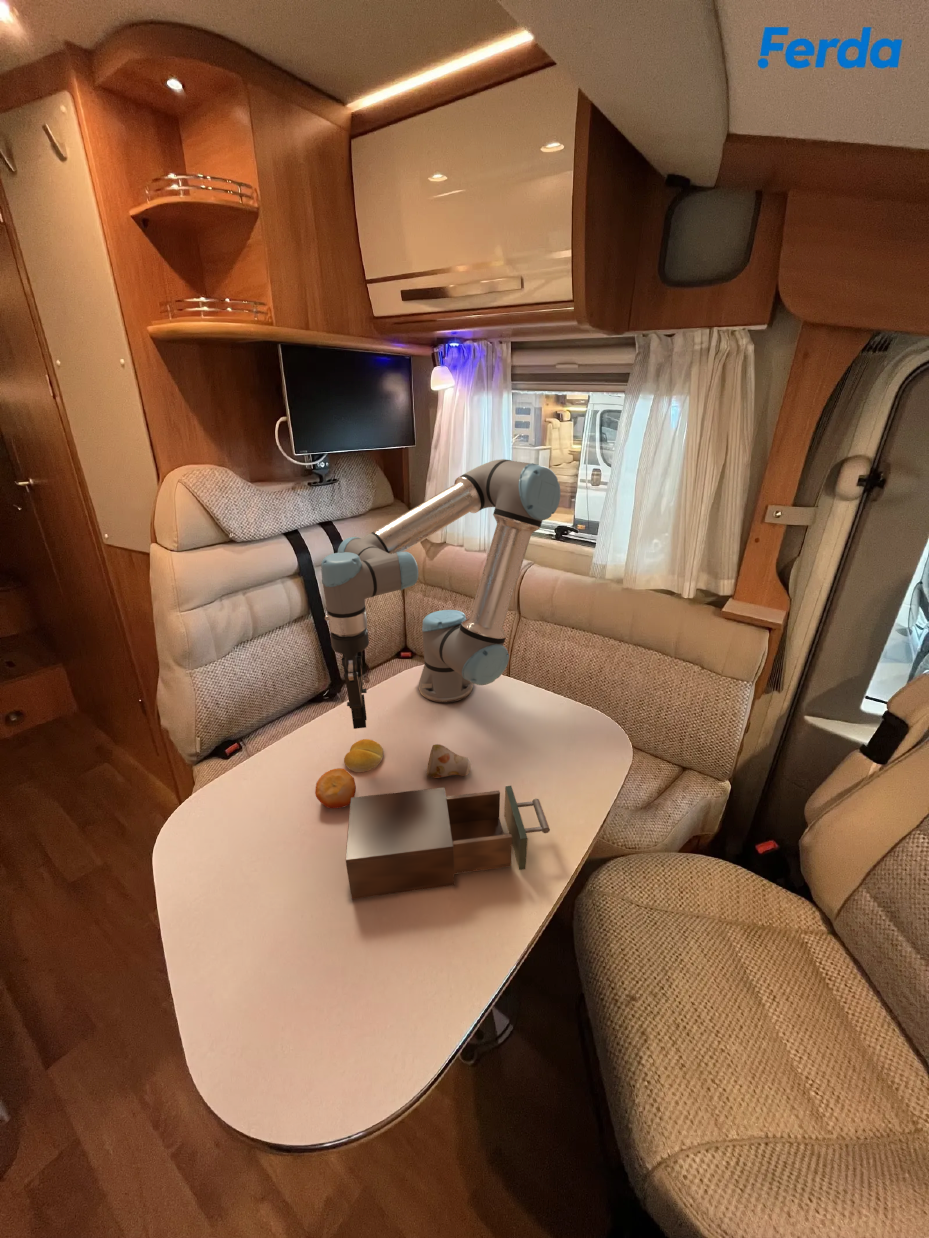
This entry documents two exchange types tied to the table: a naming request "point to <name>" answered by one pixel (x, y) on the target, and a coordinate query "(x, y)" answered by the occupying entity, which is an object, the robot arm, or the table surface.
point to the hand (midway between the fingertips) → (360, 723)
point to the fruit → (335, 788)
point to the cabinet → (399, 843)
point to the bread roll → (363, 755)
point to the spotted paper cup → (446, 763)
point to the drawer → (489, 830)
